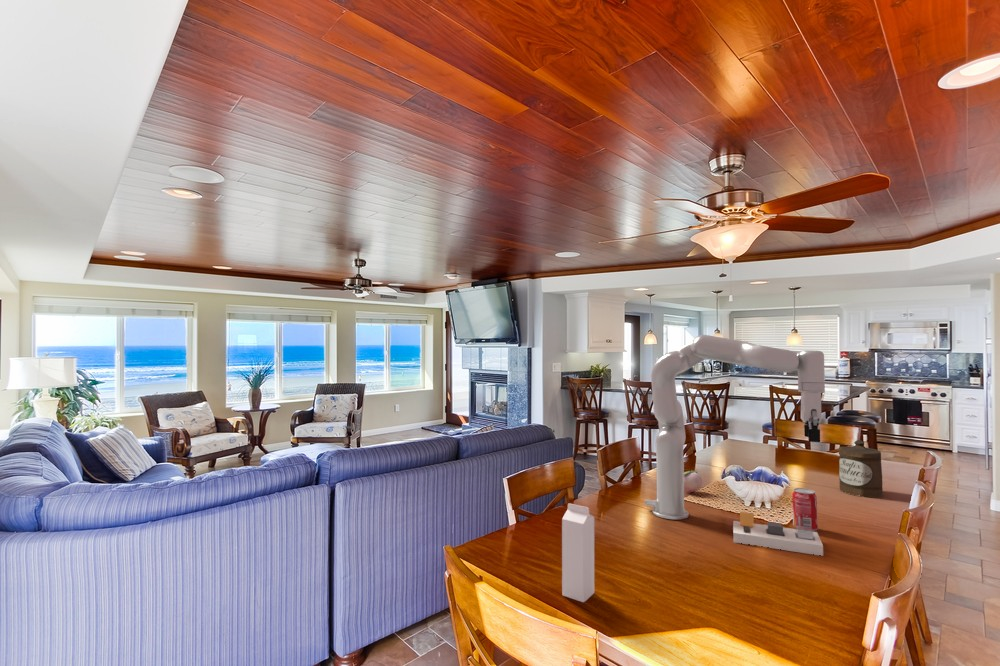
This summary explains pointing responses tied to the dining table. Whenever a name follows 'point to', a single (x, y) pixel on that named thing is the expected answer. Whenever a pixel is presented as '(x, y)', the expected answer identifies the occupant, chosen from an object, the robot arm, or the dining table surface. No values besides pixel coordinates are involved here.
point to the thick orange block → (747, 520)
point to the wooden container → (860, 470)
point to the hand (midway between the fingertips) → (812, 439)
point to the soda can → (805, 508)
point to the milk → (577, 553)
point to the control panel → (776, 539)
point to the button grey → (804, 532)
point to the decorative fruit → (692, 481)
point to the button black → (775, 528)
